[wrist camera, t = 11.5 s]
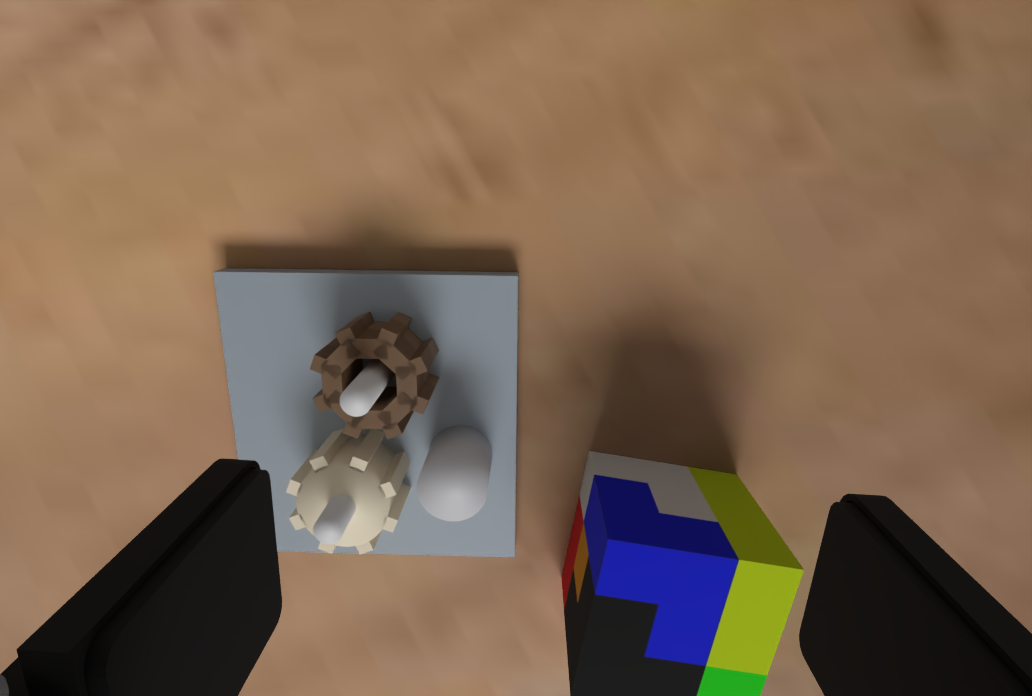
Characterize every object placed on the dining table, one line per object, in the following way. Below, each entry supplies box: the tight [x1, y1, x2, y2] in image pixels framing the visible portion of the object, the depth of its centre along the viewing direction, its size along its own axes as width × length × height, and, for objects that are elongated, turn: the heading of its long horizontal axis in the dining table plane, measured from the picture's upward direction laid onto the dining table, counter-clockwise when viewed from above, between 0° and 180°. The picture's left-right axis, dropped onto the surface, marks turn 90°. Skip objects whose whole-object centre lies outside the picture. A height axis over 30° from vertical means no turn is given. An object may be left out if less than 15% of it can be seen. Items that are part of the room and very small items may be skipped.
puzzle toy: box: [562, 451, 804, 696], centre depth 35 cm, size 10×10×10 cm
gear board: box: [213, 268, 519, 557], centre depth 34 cm, size 19×18×8 cm
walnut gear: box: [310, 312, 440, 439], centre depth 34 cm, size 6×6×4 cm
